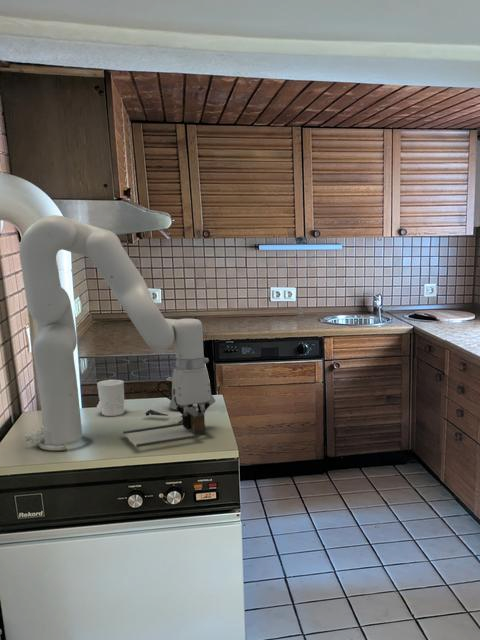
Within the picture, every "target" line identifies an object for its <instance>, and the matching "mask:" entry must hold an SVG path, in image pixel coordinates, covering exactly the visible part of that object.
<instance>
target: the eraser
mask: <svg viewBox="0 0 480 640" xmlns="http://www.w3.org/2000/svg"><path fill="white" fill-rule="evenodd" d="M197 410H198V409H196V408H194V406H193V407H188V415H189V416H190V429H187V428H186V429H187V430H188V431H190V432H191V433H193V434H194V435H199V436H200V435H205V434H206V423H205V422H206V421H205V414H204V415H203V414H202V413H200V412H199V411H197ZM183 427H184V428H185V426H183Z"/></svg>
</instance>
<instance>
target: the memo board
mask: <svg viewBox="0 0 480 640" xmlns="http://www.w3.org/2000/svg"><path fill="white" fill-rule="evenodd" d="M122 434H123V435H124V436H125V437H126V438H127V439H128V440H129V441H130V443H132V444H133V445H134V446H135V447H136V448H139V447H141V448H142V447H146V446H153V445H160V444H165V443H173V442H179V441H184V440H191V439H197V438H200V435H194V434H193V433H191V432H190V431H188V430H187V429H186V428H184V427H183V422H182V423H178V422H176V423H173V424H165V425H157V426H151V427H144V428H136V429H129V430H123V431H122Z"/></svg>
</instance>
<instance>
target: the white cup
mask: <svg viewBox="0 0 480 640" xmlns="http://www.w3.org/2000/svg"><path fill="white" fill-rule="evenodd" d="M96 386H97V392H98V393H97V394H98V400H99V406H100V410H101V411H100V412H101V415H102V416H105V417H115V416H121V415H124V413H125V381H124V380H122V379H106V380H105V379H104V380H101V381H98V382H96Z"/></svg>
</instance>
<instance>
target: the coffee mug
mask: <svg viewBox="0 0 480 640" xmlns="http://www.w3.org/2000/svg"><path fill="white" fill-rule="evenodd" d="M172 377H173V376H169V377H167V378H166V381H159V382H158V383H157V385H156V388H157V391H158V392H159V393H160V395H162V396H164V397H165V398H167V399H168V400H169V401H171V400H172ZM162 384H164V385H166V386H167V388H168V394H169V396H168V395H167V394H165V393H164V392H163V391H162V390H161V389H160V385H162ZM176 405H177V406H180V407H181V405H178V404H177V403H176ZM188 407H193V408H194V404H191V405H188ZM172 411H174V412H178V411H177V410H175V409H172Z"/></svg>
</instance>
